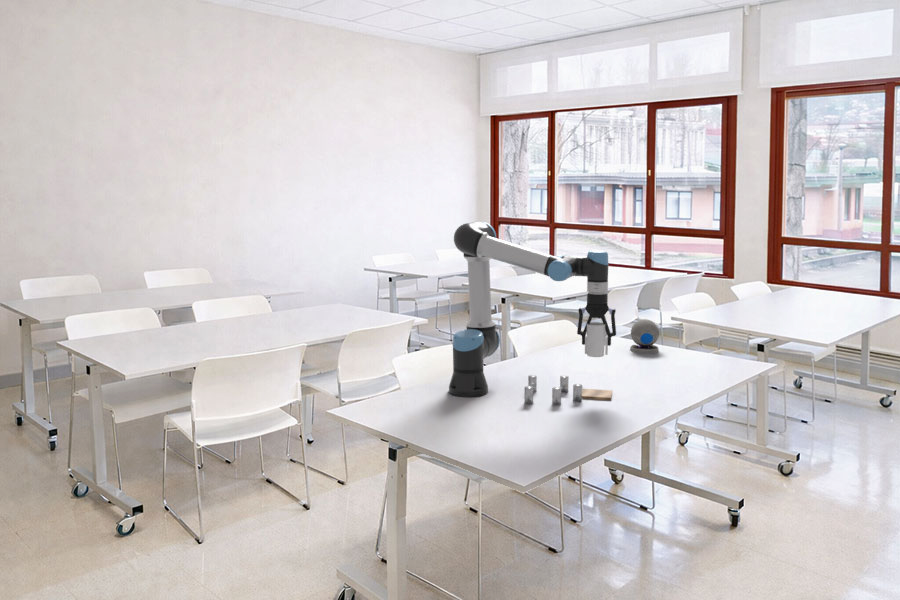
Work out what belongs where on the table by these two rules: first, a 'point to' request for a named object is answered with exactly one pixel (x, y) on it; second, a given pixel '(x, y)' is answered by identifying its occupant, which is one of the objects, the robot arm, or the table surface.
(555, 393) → the cylinder
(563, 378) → the cylinder
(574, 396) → the cylinder
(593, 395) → the trivet
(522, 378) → the table surface
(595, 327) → the mug
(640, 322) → the webcam
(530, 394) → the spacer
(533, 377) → the cylinder
